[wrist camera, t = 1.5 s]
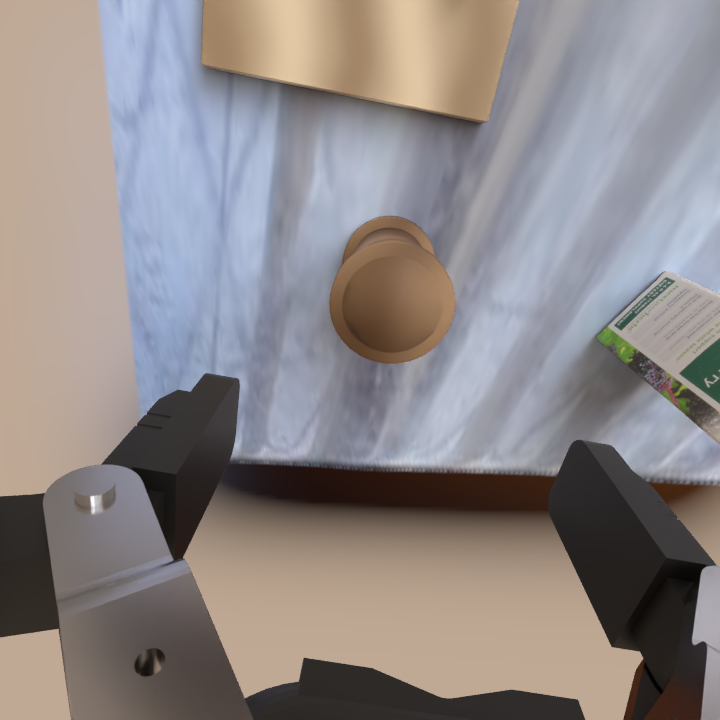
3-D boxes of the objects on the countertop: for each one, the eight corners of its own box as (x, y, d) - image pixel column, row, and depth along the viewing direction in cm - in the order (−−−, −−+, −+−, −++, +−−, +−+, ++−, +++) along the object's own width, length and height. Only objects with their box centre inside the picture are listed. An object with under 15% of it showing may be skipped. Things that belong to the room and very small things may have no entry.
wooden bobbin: (443, 225, 28) (470, 256, 20) (422, 312, 30) (437, 372, 22) (352, 207, 28) (340, 231, 20) (337, 297, 30) (321, 351, 22)
